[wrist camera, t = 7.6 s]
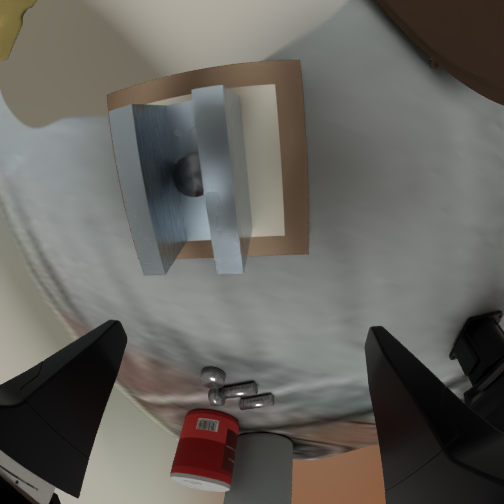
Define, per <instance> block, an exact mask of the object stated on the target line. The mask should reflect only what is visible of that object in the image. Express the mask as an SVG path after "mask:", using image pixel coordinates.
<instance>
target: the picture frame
mask: <svg viewBox="0 0 504 504" xmlns="http://www.w3.org/2000/svg"><path fill="white" fill-rule="evenodd" d="M217 85H224V86H225V87H227V88H229V89H230V90H232V91H233V92H235V93H236V94H238V95H239V96H240V101H241V112H242V122H243V133H244V143H245V153H246V164H247V175H248V185H249V196H250V206H251V217H252V228H253V231H252V235H251V240H250V245H249V249H248V254H247V256H272V255H300V254H309V202H308V165H307V143H306V126H305V111H304V98H303V86H302V75H301V66H300V60H277V61H261V62H250V63H240V64H231V65H224V66H217V67H211V68H205V69H199V70H194V71H189V72H184V73H180V74H175V75H171V76H167V77H163V78H159V79H155V80H151V81H148V82H144V83H141V84H138V85H134V86H131V87H128V88H125V89H122V90H119V91H116V92H113V93H110V94H108V95H107V104H108V113H109V111H111V110H114V109H117V108H120V107H124V106H127V105H130V104H148V105H171V104H176V103H181V102H186V101H191V100H192V91H191V90H193V89H198V88H204V87H210V86H217ZM109 122H110V118H109ZM110 129H111V126H110ZM111 136H112V133H111ZM112 143H113V140H112ZM113 150H114V147H113ZM114 156H115V153H114ZM115 161H116V159H115ZM116 167H117V164H116ZM117 172H118V170H117ZM118 178H119V175H118ZM119 183H120V180H119ZM120 187H121V185H120ZM121 192H122V190H121ZM122 197H123V194H122ZM123 201H124V199H123ZM124 206H125V203H124ZM125 210H126V208H125ZM126 214H127V212H126ZM127 218H128V216H127ZM128 222H129V220H128ZM129 226H130V224H129ZM130 230H131V228H130ZM131 234H132V232H131ZM132 238H133V236H132ZM133 241H134V239H133ZM134 245H135V243H134ZM135 248H136V247H135ZM136 252H137V250H136ZM137 255H138V254H137ZM183 258H214V253H213V247H212V241H211V240H199V241H187V243H186V244H185V246H184V247H183V249H182V250H181V252H180V253H179V255H178V256H177V258H176V259H183ZM138 259H139V257H138Z"/></svg>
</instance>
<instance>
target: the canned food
mask: <svg viewBox="0 0 504 504" xmlns="http://www.w3.org/2000/svg"><path fill="white" fill-rule="evenodd" d="M238 432H239V426H238V422H237V421H236V419H234V418H233V417H232V416H230V415H228V414H225V413H222V412H219V411H215V410H207V409H199V410H194V411H191V412H189V414H188V415H187V416H186V418H185V421H184V425H183V428H182V432H181V436H180V439H179V443H178V447H177V451H176V454H175V458H174V461H173V465H172V469H171V473H170V479H171V480H173V481H174V482H176V483H179V484H182V485H184V486H187V487H191V488H195V489H200V490H206V491H215V492H225V491H229V490H230V487H231V482H232V476H233V469H234V461H235V454H236V447H237V439H238Z"/></svg>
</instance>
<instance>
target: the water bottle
mask: <svg viewBox="0 0 504 504" xmlns="http://www.w3.org/2000/svg"><path fill="white" fill-rule="evenodd" d="M292 465H293V445H292V442H291V441H290V440H289V439H287V438H285V437H283V436H280V435H276V434H270V433H250V434H245V435H241V436H239V437H238V439H237V447H236V454H235V461H234V469H233V476H232V482H231V487H230V490H229V491H225V498H224V504H291V497H292V496H291V495H292Z"/></svg>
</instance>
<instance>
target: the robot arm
mask: <svg viewBox="0 0 504 504" xmlns="http://www.w3.org/2000/svg"><path fill="white" fill-rule="evenodd" d="M502 316H503V313H502V312H501V311H498V312H494V313H490V314H486V315H482V316H477V317H473V318H470V319H468V320H467V322H466V324H465V326H464V329H463V331H462V333H461V335H460V337H459V339H458V341H457V343H456V345H455V347H454V349H453V351H452V352H451V354H450V356H449V357H450V359H451V360H454V359H458V361H459V363H460V365H461V367H462V370H463V372H464V374H465V375H466V376H468V377H469V379H470V381H471V384H472V386H473V387H472V388H470V389H469V390H468V391H466V392H465V393H464V401H465V403H464V402H462V401H461V400H460V399H459V398H458V397H457V396H456V395H455V394H454V393H453V392H452V391H451V390H450V389H449V388H448V387H445V385H444V384H443V383H442V382H441V381H440V380H439V379H438V378H437V377H436V376H435V375H434V374H433V373H432V372H431V371H430V370H429V369H428V368H427V367H426V366H425V365H424V364H423V363H421V362H420V361H419V360H418V359H417V358H416V357H415V356H414V355H413V354H412V353H411V352H410V351H409V350H408V349H407V348H405V347H404V346H403V345H402V344H401V343H400V342H399V341H398V340H397V339H396V338H395V337H394V336H392V335H391V334H390V333H389V332H388V331H387V330H386V329H385V328H384V327H382V326H372V327H370V329H369V332H368V335H367V339H366V343H365V355H366V364H367V373H368V384H369V391H370V396H371V401H372V406H373V411H374V417H375V422H376V428H377V434H378V440H379V447H380V453H381V460H382V468H383V477H384V486H385V498H386V504H504V331H503V330H502V328H501V327H500V325H499V322H500V320H501V318H502ZM126 344H127V335H126V333H125V331H124V329H123V326H122V324H121V322H120V321H118V320H108V321H107V322H105V323H103V324H102V325H100V326H99V327H97V328H95V329H94V330H92V331H90V332H89V333H87V334H86V335H84V336H82V337H81V338H79V339H77V340H76V341H74V342H73V343H71V344H69V345H68V346H66V347H65V348H63V349H61V350H60V351H58V352H56V353H55V354H53V355H52V356H50V357H49V358H47V359H45V360H44V361H42V362H40V363H39V364H37V365H36V366H34V367H32V368H31V369H29V370H28V371H26V372H24V373H22V374H20V375H18V376H16V377H14V378H12V379H11V380H9V381H7V382H5V383H3V384H1V385H0V504H61V503H60V500H59V498H58V495H57V494H56V493H54V490H55V488H58V489H60V490H62V491H64V492H66V493H68V494H70V495H72V496H74V497H76V498H79V496H80V491H81V488H82V483H83V479H84V475H85V472H86V468H87V465H88V460H89V457H90V454H91V450H92V447H93V444H94V440H95V437H96V434H97V431H98V428H99V425H100V422H101V419H102V416H103V413H104V410H105V407H106V405H107V402H108V398H109V396H110V393H111V391H112V388H113V385H114V383H115V380H116V377H117V375H118V372H119V368H120V365H121V361H122V357H123V354H124V350H125V347H126Z"/></svg>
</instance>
